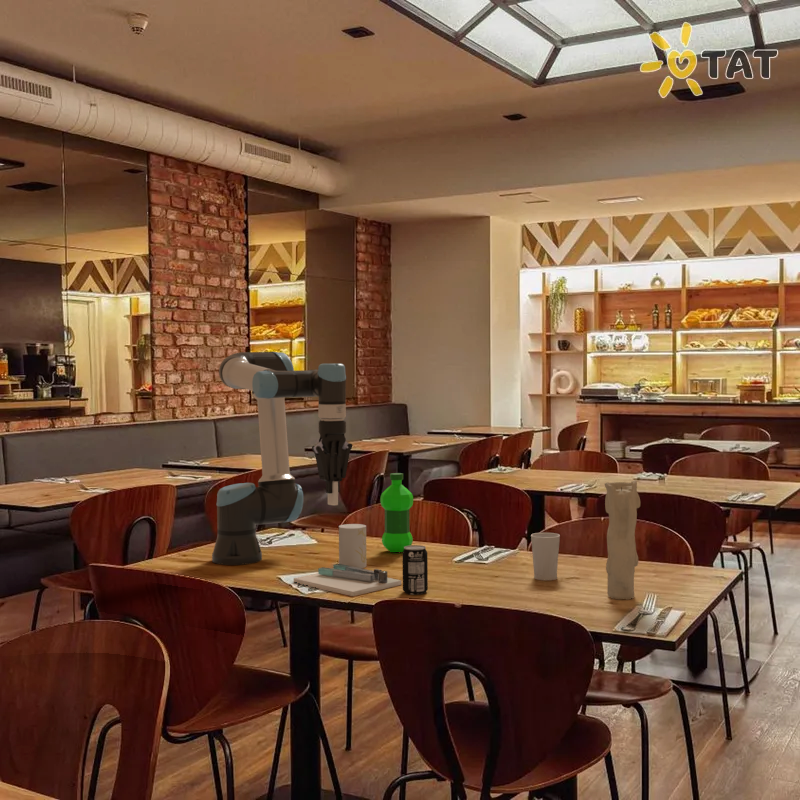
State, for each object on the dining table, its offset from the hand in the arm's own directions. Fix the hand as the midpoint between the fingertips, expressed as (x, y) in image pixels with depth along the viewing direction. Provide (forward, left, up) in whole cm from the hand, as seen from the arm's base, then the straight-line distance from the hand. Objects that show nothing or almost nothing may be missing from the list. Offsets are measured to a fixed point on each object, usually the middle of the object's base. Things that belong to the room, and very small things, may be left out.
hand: (332, 504), depth 271 cm
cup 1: (-11, +18, -22) cm, 30 cm away
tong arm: (+4, +1, -20) cm, 20 cm away
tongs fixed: (+5, +5, -21) cm, 23 cm away
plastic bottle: (-17, +43, -22) cm, 51 cm away
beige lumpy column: (+69, +37, -22) cm, 81 cm away
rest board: (+5, +1, -21) cm, 22 cm away
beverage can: (+26, +6, -22) cm, 34 cm away
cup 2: (+41, +43, -22) cm, 63 cm away
